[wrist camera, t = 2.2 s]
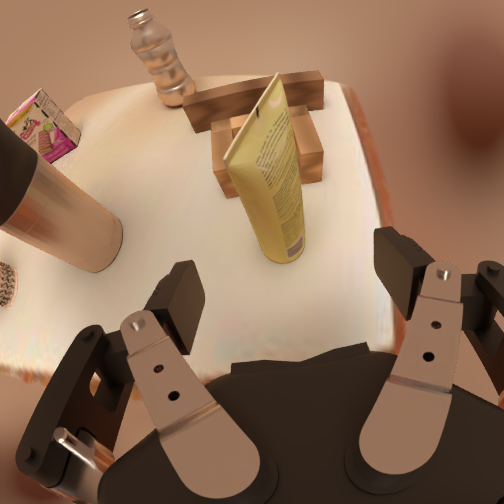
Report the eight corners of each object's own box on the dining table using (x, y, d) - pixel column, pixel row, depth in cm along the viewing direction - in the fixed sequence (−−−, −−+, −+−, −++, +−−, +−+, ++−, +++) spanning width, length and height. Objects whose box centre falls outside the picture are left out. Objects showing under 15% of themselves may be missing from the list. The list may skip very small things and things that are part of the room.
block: (226, 198, 34) (213, 171, 28) (222, 151, 37) (210, 122, 31) (321, 181, 32) (323, 151, 27) (306, 135, 35) (305, 104, 30)
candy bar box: (45, 168, 46) (0, 130, 31) (49, 153, 48) (9, 115, 32) (78, 147, 45) (33, 100, 30) (82, 132, 47) (41, 86, 31)
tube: (253, 227, 32) (198, 95, 14) (293, 212, 32) (278, 69, 13) (269, 271, 30) (222, 160, 12) (312, 254, 30) (324, 125, 11)
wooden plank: (195, 133, 39) (182, 106, 33) (196, 123, 40) (183, 96, 34) (323, 109, 36) (323, 79, 31) (318, 99, 37) (318, 70, 32)
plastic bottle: (192, 108, 41) (147, 15, 22) (159, 112, 43) (110, 29, 24) (202, 87, 43) (166, -1, 24) (171, 91, 44) (130, 12, 26)
